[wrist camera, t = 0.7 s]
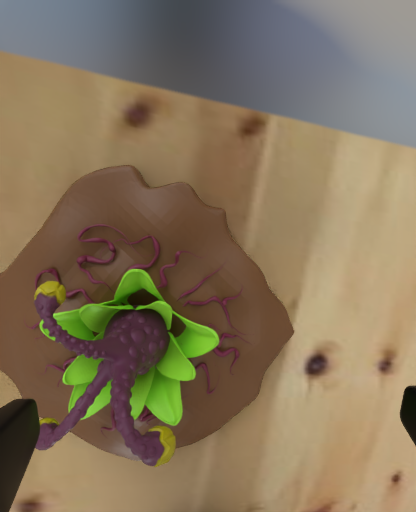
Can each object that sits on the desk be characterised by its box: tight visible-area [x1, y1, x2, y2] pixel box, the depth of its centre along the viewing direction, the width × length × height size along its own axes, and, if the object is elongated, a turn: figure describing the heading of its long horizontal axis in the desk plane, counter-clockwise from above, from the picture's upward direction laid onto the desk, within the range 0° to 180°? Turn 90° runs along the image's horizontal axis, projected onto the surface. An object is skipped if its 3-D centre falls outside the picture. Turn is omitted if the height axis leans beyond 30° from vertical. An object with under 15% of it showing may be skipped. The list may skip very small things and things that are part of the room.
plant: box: [0, 165, 294, 467], centre depth 16 cm, size 20×20×11 cm
